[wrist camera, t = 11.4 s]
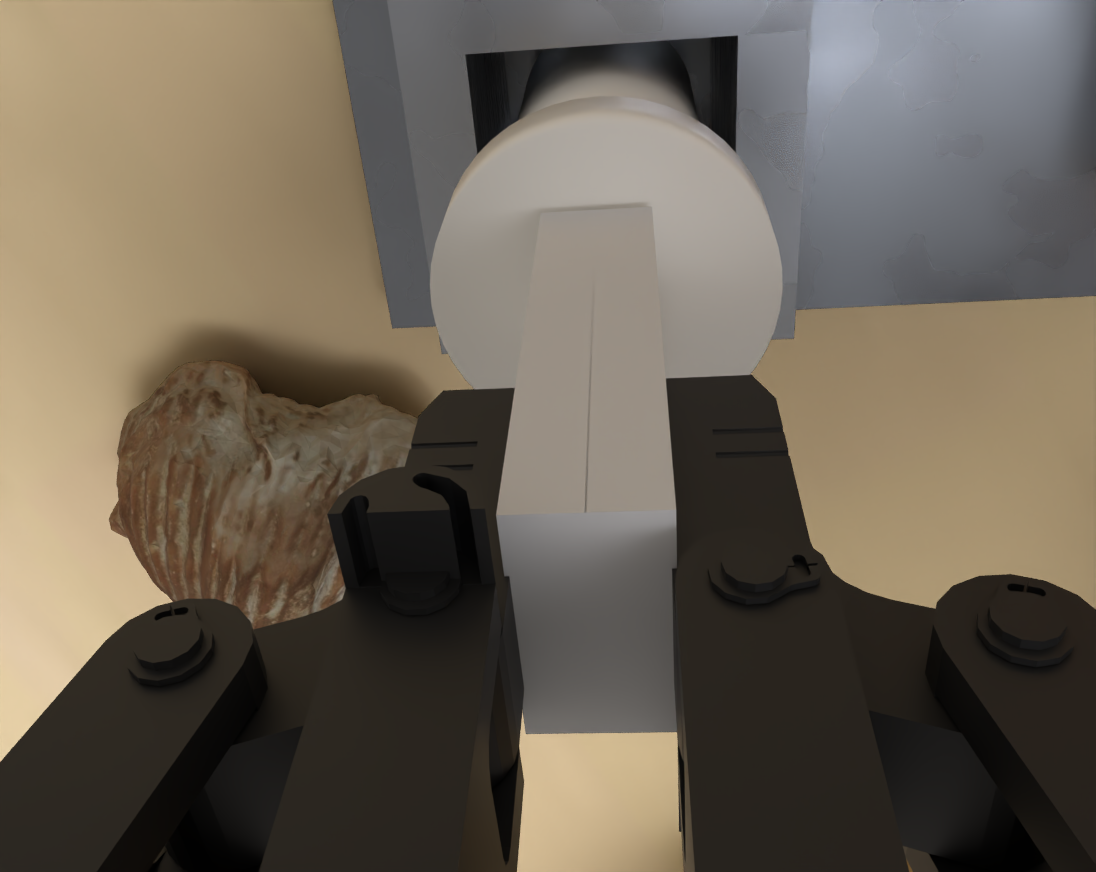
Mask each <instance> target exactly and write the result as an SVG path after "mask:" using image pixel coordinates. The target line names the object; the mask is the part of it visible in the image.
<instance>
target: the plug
mask: <svg viewBox="0 0 1096 872" xmlns="http://www.w3.org/2000/svg"><path fill="white" fill-rule="evenodd" d="M637 207H652V213H653V225H654V238H655V250H656V263H657V275H658V288H659V301H660V313H661V326H662V338H663V351H664V363H665V376H666V378H687V377H711V376H735V375H750V374H751V373H752V371H753V370H754V369H755V368H756V366H757V364H758V363H759V361H760V359H761V358H762V356H763V354H764V353H765V351H766V349H767V347H768V345H769V342H770V340H771V337H772V335H773V333H774V330H775V327H776V323H777V320H778V316H779V312H780V307H781V298H782V290H783V283H782V264H781V259H780V253H779V247H778V244H777V240H776V237H775V234H774V231H773V228H772V225H771V221H770V218H769V215H768V212H767V209H766V206H765V203H764V200H763V197H762V194H761V192H760V190H759V188H758V186H757V184H756V182H755V180H754V178H753V176H752V174H751V172H750V171H749V170H748V168H747V167H746V165H745V164H744V162H743V161H742V160H741V158H740V157H739V156H738V154H737V153H736V152H735V151H734V150H733V149H732V148H731V147H730V146H729V145H728V144H727V143H726V142H725V141H724V140H723V139H722V138H721V137H719V136H718V135H717V134H716V133H714V132H713V131H712V130H711V129H709V128H708V127H707V126H705V125H704V124H702V123H700V122H699V120H698V115H697V110H696V106H695V101H694V96H693V91H692V87H691V82H690V77H689V74H688V72H687V69H686V66H685V64H684V62H683V60H682V58H681V57H680V55H679V54H678V52H677V51H676V49H675V48H674V47H673V46H672V45H671V43H670V42H669V41H668V40H665V41H650V42H636V43H622V44H607V45H593V46H578V47H564V48H549V49H543V50H542V52H541V53H540V55H539V56H538V57H537V59H536V61H535V63H534V65H533V67H532V69H531V72H530V74H529V77H528V81H527V85H526V89H525V93H524V97H523V101H522V105H521V109H520V113H519V117H518V121H517V122H515V123H513V124H512V125H510V126H508V127H507V128H506V129H505V130H503V131H502V132H501V133H499V134H498V135H497V136H496V137H494V138H493V139H492V140H491V141H490V142H489V143H488V144H487V145H486V146H485V147H484V148H483V149H482V150H481V151H480V152H479V153H478V154H477V155H476V157H475V158H474V159H473V161H472V162H471V163H470V165H469V166H468V168H467V169H466V170H465V172H464V173H463V175H462V177H461V179H460V181H459V183H458V184H457V186H456V188H455V190H454V192H453V195H452V198H451V200H450V203H449V206H448V209H447V211H446V214H445V217H444V220H443V223H442V226H441V229H440V232H439V234H438V237H437V240H436V243H435V247H434V252H433V257H432V262H431V273H430V294H431V306H432V310H433V315H434V319H435V323H436V327H437V330H438V332H439V335H440V338H441V340H442V343H443V345H444V347H445V349H446V351H447V353H448V354H449V356H450V358H451V360H452V362H453V363H454V365H455V366H456V368H457V369H458V370H459V372H460V373H461V374H462V376H463V377H464V378H465V380H466V381H467V382H468V383H469V384H470V385H471V386H472V387H473V388H474V389H497V388H515V384H516V377H517V371H518V364H519V357H520V350H521V344H522V337H523V330H524V323H525V317H526V310H527V303H528V296H529V290H530V283H531V276H532V269H533V263H534V256H535V249H536V242H537V236H538V229H539V222H540V215H541V213H547V212H565V211H583V210H601V209H619V208H637Z"/></svg>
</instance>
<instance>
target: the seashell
mask: <svg viewBox="0 0 1096 872" xmlns="http://www.w3.org/2000/svg"><path fill="white" fill-rule="evenodd" d="M417 421H418V418H416V417H413V416H412V415H410V414H407V413H403V412H399V411H398V410H396V409H395V408H394V407H392V406H387V405H383V404H382V403H381V402H380V400H379V398H378V396H377V395H374V394H371V395H367V396H364V395H362V394H355V395H352V396H350V397H348V398H346V399H344V400H340V401H338V402H334V403H331V404H328V405H325V406H323V407H320V408H317V407H315V406H313V405H306V404H302V405H300V404H298V403H297V402H296V401H294V400H293V399H288V398H284V397H279V398H278V397H277V396H275V395H273V394H262V393H261V391H260V388H259V386H258V384H257V383H256V381H255V379H254V378H253V377H252V376H251V375H250V373H249V372H248V370H246V369H245V368H243V367H241V366H239V365H235V364H232V363H228V362H223V361H198V362H193V363H186V364H184V365H181V366H179V367H178V368H177V369H175V370H174V371H173V372H172V373H171V374H170V375H169V376H168V377H167V378H166V379H165V380H164V382H163V383H162V384H161V385H160V386H159V387H158V388H157V390H156V391H155V392H154V393H153V395H152V396H151V397H150V398H149V399H148V400H147V401H145V402H144V403H142V404H141V405H139V406H138V407H136V408H135V409H133V410H132V411H130V412H129V413H128V415H127V417H126V419H125V421H124V424H123V428H122V431H121V436H120V442H119V446H118V451H117V454H118V457H119V465H118V472H117V487H118V498H119V501H118V502H117V504H116V506H115V508H114V509H113V512H112V513H111V515H110V518H109V522H110V526H111V529H112V530H113V531H115V532H116V533H118V534H120V535H122V536H124V537H126V538H128V539H129V541H130V544H131V546H132V548H133V550H134V552H135V554H136V556H137V558H138V559H139V561H140V562H141V564H142V566H143V567H144V568H145V570H146V571H147V573H148V575H149V576H150V578H151V579H152V581H153V582H154V583H155V585H156V586H157V587H158V588H159V589H160V590H161V591H163V592H164V593H165V594H167V595H168V596H169V598H170V599H171V600H172V601H173V602H175V601H179V600H183V599H218V600H220V601H223V602H226V603H229V604H232V605H234V606H237V607H238V608H239V609H240V610H241V611H242V612H243V613H244V615H245V616H246V617H247V618H248V619H249V620H250V621H251V624H252V627H253V629H257V628H261V627H265V626H269V625H272V624H276V623H280V622H284V621H288V620H292V619H295V618H299V617H303V616H306V615H309V614H311V613H314V612H317V611H320V610H323V609H325V608H327V607H329V606H331V605H333V604H335V603H336V602H338V601H340V600H342V598H343V595H344V592H345V589H346V588H345V584H344V580H343V576H342V572H341V568H340V564H339V560H338V556H337V552H336V548H335V544H334V540H333V536H332V532H331V528H330V524H329V520H328V516H327V513H328V512H329V510H330V509H331V507H332V506H333V504H334V503H335V501H336V500H337V498H338V497H339V495H340V494H342V493H343V492H344V491H346V490H347V489H349V488H350V487H351V486H353V485H354V484H355V483H357V482H358V481H360V480H361V479H364V478H366V477H369V476H371V475H374V474H376V473H379V472H382V471H384V470H387V469H391V468H398V467H404V466H405V463H406V460H407V456H408V453H409V449H411V442H412V438H413V435H414V431H415V428H416V424H417Z"/></svg>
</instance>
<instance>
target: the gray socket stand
mask: <svg viewBox="0 0 1096 872" xmlns="http://www.w3.org/2000/svg"><path fill="white" fill-rule="evenodd" d="M333 5H334V11H335V16H336V22H337V27H338V33H339V38H340V44H341V49H342V55H343V60H344V66H345V71H346V77H347V82H348V88H349V93H350V99H351V104H352V110H353V115H354V121H355V126H356V132H357V137H358V142H359V148H360V153H361V159H362V164H363V170H364V175H365V181H366V186H367V192H368V197H369V203H370V208H371V214H372V219H373V225H374V230H375V236H376V241H377V247H378V252H379V258H380V263H381V269H382V274H383V280H384V285H385V291H386V296H387V301H388V307H389V312H390V318H391V323H392V328H411V327H433V326H436V323H435V319H434V315H433V310H432V306H431V294H430V273H431V262H432V257H433V252H434V247H435V243H436V240H437V237H438V234H439V232H440V229H441V226H442V223H443V220H444V217H445V214H446V211H447V209H448V206H449V203H450V200H451V198H452V195H453V192H454V190H455V188H456V186H457V184H458V183H459V181H460V179H461V177H462V175H463V173H464V172H465V170H466V169H467V168H468V166H469V165H470V163H471V162H472V161H473V159H474V158H475V157H476V155H477V154H478V153H479V152H480V151H481V150H482V149H483V148H484V147H485V146H486V145H487V144H488V143H489V142H490V141H491V140H492V139H493V138H494V137H496V136H497V135H498V134H499V133H501V132H502V131H503V130H505V129H506V128H507V127H508V126H510V125H512V124H513V123H515V122H517V121H518V117H519V113H520V109H521V105H522V101H523V97H524V93H525V89H526V85H527V81H528V77H529V74H530V72H531V69H532V67H533V65H534V63H535V61H536V59H537V57H538V56H539V55H540V53H541V52H542V50H543V49H549V48H564V47H578V46H593V45H607V44H622V43H636V42H650V41H665V40H668V41H669V42H670V43H671V45H672V46H673V47H674V48H675V49H676V51H677V52H678V54H679V55H680V57H681V58H682V60H683V62H684V64H685V66H686V69H687V72H688V74H689V77H690V82H691V87H692V91H693V96H694V101H695V106H696V110H697V115H698V120H699V122H700V123H702V124H704V125H705V126H707V127H708V128H709V129H711V130H712V131H713V132H714V133H716V134H717V135H718V136H719V137H721V138H722V139H723V140H724V141H725V142H726V143H727V144H728V145H729V146H730V147H731V148H732V149H733V150H734V151H735V152H736V153H737V154H738V156H739V157H740V158H741V160H742V161H743V162H744V164H745V165H746V167H747V168H748V170H749V171H750V172H751V174H752V176H753V178H754V180H755V182H756V184H757V186H758V188H759V190H760V192H761V194H762V197H763V200H764V203H765V206H766V209H767V212H768V215H769V218H770V221H771V225H772V228H773V231H774V234H775V237H776V240H777V244H778V247H779V253H780V259H781V264H782V283H783V290H782V298H781V307H780V312H779V316H778V320H777V323H776V327H775V330H774V333H773V335H772V337H771V340H772V339H794V329H795V311H796V310H800V309H822V308H844V307H865V306H887V305H908V304H930V303H952V302H973V301H995V300H1017V299H1038V298H1060V297H1081V296H1096V0H333ZM439 339H440V345H441V352H442V354H448V353H447V351H446V349H445V347H444V345H443V343H442V340H441V338H440V335H439Z"/></svg>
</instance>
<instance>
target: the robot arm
mask: <svg viewBox="0 0 1096 872" xmlns="http://www.w3.org/2000/svg"><path fill="white" fill-rule="evenodd" d="M327 516H328V520H329V524H330V528H331V532H332V536H333V540H334V544H335V548H336V552H337V556H338V560H339V564H340V568H341V572H342V576H343V580H344V584H345V588H346V589H345V592H344V595H343V598H342V600H340V601H338V602H336V603H335V604H333V605H331V606H329V607H327V608H325V609H323V610H320V611H317V612H314V613H311V614H309V615H306V616H303V617H299V618H295V619H292V620H288V621H284V622H280V623H276V624H272V625H269V626H265V627H261V628H257V629H253V627H252V624H251V621H250V620H249V619H248V618H247V617H246V616H245V615H244V613H243V612H242V611H241V610H240V609H239V608H238V607H237V606H234V605H232V604H229V603H226V602H223V601H220V600H218V599H183V600H179V601H175V602H172V603H168V604H164V605H160V606H156V607H155V608H153V609H151V610H149V611H147V612H145V613H143V614H141V615H139V616H137V617H135V618H133V619H131V620H129V621H128V622H127V623H126V624H124V625H123V626H122V627H121V628H120V629H119V630H117V631H116V632H115V633H114V634H113V635H112V636H111V637H109V638H108V639H107V640H106V641H105V642H104V643H103V644H102V646H101V647H100V648H99V649H98V650H97V651H96V652H95V654H94V655H93V656H92V657H91V658H90V659H89V661H88V662H87V663H86V664H85V665H84V666H83V667H82V669H81V670H80V671H79V672H78V673H77V674H76V675H75V677H74V678H73V679H72V680H71V681H70V682H69V684H68V685H67V686H66V687H65V688H64V689H63V690H62V692H61V693H60V694H59V695H58V696H57V697H56V699H55V700H54V701H53V702H52V703H51V704H50V705H49V707H48V708H47V709H46V710H45V711H44V712H43V713H42V715H41V716H40V717H39V718H38V719H37V720H36V722H35V723H34V724H33V725H32V726H31V727H30V728H29V730H28V731H27V732H26V733H25V734H24V735H23V737H22V738H21V739H20V740H19V741H18V742H17V743H16V745H15V746H14V747H13V748H12V749H11V750H10V751H9V753H8V754H7V755H6V756H5V757H4V758H3V760H2V761H1V762H0V872H517V862H518V850H519V838H520V825H521V813H522V801H523V788H524V778H523V771H522V764H521V757H520V750H519V740H520V730H521V719H522V709H523V717H524V724H525V732H526V734H559V733H640V732H677V738H678V787H679V832H681V834H682V851H683V868H684V872H909V868H908V865H907V861H908V863H909V865H910V867H911V869H912V871H913V872H1096V609H1094V608H1093V607H1092V606H1091V605H1089V604H1088V603H1087V602H1086V601H1084V600H1083V599H1082V598H1081V597H1079V596H1078V595H1076V594H1074V593H1072V592H1069V591H1067V590H1065V589H1063V588H1060V587H1058V586H1056V585H1054V584H1051V583H1049V582H1047V581H1043V580H1038V579H1033V578H1028V577H1023V576H1017V575H1012V574H1007V575H988V576H978V577H975V578H972V579H970V580H967V581H964V582H962V583H959V584H956V585H953V586H952V587H951V588H950V589H949V590H948V591H947V593H946V594H945V595H944V596H943V597H942V598H941V599H940V600H939V601H938V602H937V605H936V609H934V608H929V607H924V606H919V605H914V604H909V603H905V602H900V601H895V600H890V599H887V598H884V597H880V596H877V595H873V594H870V593H867V592H865V591H862V590H860V589H858V588H856V587H854V586H852V585H850V584H848V583H846V582H844V581H843V580H842V579H840V578H839V577H838V576H836V575H835V574H833V573H832V571H831V569H830V567H829V565H828V564H827V562H826V560H825V558H824V557H823V555H822V554H820V553H819V552H818V551H816V550H815V549H814V548H813V547H812V544H811V542H810V539H809V534H808V530H807V526H806V522H805V518H804V514H803V509H802V505H801V501H800V497H799V493H798V489H797V484H796V480H795V476H794V472H793V468H792V464H791V459H790V456H788V447H787V443H786V439H785V434H784V432H783V426H782V422H781V418H780V414H779V410H778V405H777V401H776V398H775V397H774V396H773V395H772V394H771V393H770V392H769V391H768V390H767V389H765V388H764V387H763V386H762V385H761V384H760V383H759V382H758V381H757V380H756V379H755V378H754V377H753V376H752V375H735V376H711V377H687V378H666V376H665V363H664V351H663V338H662V326H661V313H660V301H659V288H658V275H657V263H656V250H655V238H654V225H653V213H652V207H637V208H619V209H601V210H583V211H565V212H547V213H541V215H540V222H539V229H538V236H537V242H536V249H535V256H534V263H533V269H532V276H531V283H530V290H529V296H528V303H527V310H526V317H525V323H524V330H523V337H522V344H521V350H520V357H519V364H518V371H517V377H516V384H515V388H497V389H473V390H449V391H443V392H442V393H441V394H440V395H439V396H438V397H437V398H436V399H435V400H434V401H433V402H432V403H431V404H430V405H429V406H428V407H427V408H426V409H425V410H424V411H423V412H422V413H421V414H420V415H419V417H418V421H417V424H416V428H415V431H414V435H413V438H412V442H411V449H409V453H408V456H407V460H406V463H405V466H404V467H398V468H391V469H387V470H384V471H382V472H379V473H376V474H374V475H371V476H369V477H366V478H364V479H361V480H360V481H358V482H357V483H355V484H354V485H353V486H351V487H350V488H349V489H347V490H346V491H344V492H343V493H342V494H340V495H339V497H338V498H337V500H336V501H335V503H334V504H333V506H332V507H331V509H330V510H329V512H328V513H327ZM906 860H907V861H906Z"/></svg>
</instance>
